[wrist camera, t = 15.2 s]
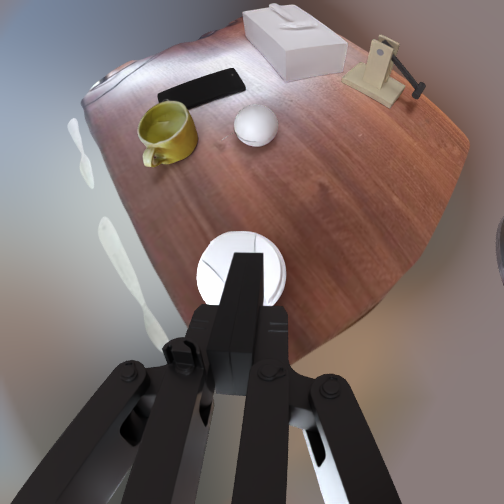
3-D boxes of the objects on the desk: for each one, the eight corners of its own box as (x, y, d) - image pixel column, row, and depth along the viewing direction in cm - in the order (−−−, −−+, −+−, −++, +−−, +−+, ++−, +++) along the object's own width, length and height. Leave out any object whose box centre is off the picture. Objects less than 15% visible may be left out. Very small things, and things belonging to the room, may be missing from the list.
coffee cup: (292, 308, 37) (302, 293, 23) (237, 333, 37) (213, 333, 23) (267, 255, 40) (261, 210, 25) (214, 278, 39) (179, 247, 25)
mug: (164, 113, 48) (154, 88, 38) (209, 132, 49) (207, 108, 39) (132, 165, 47) (114, 149, 37) (177, 187, 49) (167, 174, 39)
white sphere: (269, 119, 47) (268, 91, 40) (284, 148, 45) (285, 119, 38) (217, 135, 47) (209, 107, 40) (228, 165, 45) (220, 137, 38)
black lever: (420, 89, 43) (428, 86, 40) (413, 100, 42) (421, 97, 39) (381, 42, 39) (388, 37, 37) (371, 50, 38) (378, 44, 36)
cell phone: (158, 96, 52) (156, 93, 51) (234, 70, 52) (233, 67, 51) (163, 119, 49) (161, 116, 49) (246, 90, 50) (246, 87, 49)
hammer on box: (285, 82, 50) (285, 41, 39) (245, 36, 57) (241, 5, 47) (342, 72, 50) (349, 34, 40) (293, 28, 58) (293, -3, 47)
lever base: (403, 90, 48) (419, 49, 36) (389, 108, 46) (407, 63, 34) (359, 66, 51) (368, 24, 39) (341, 82, 49) (349, 36, 37)
